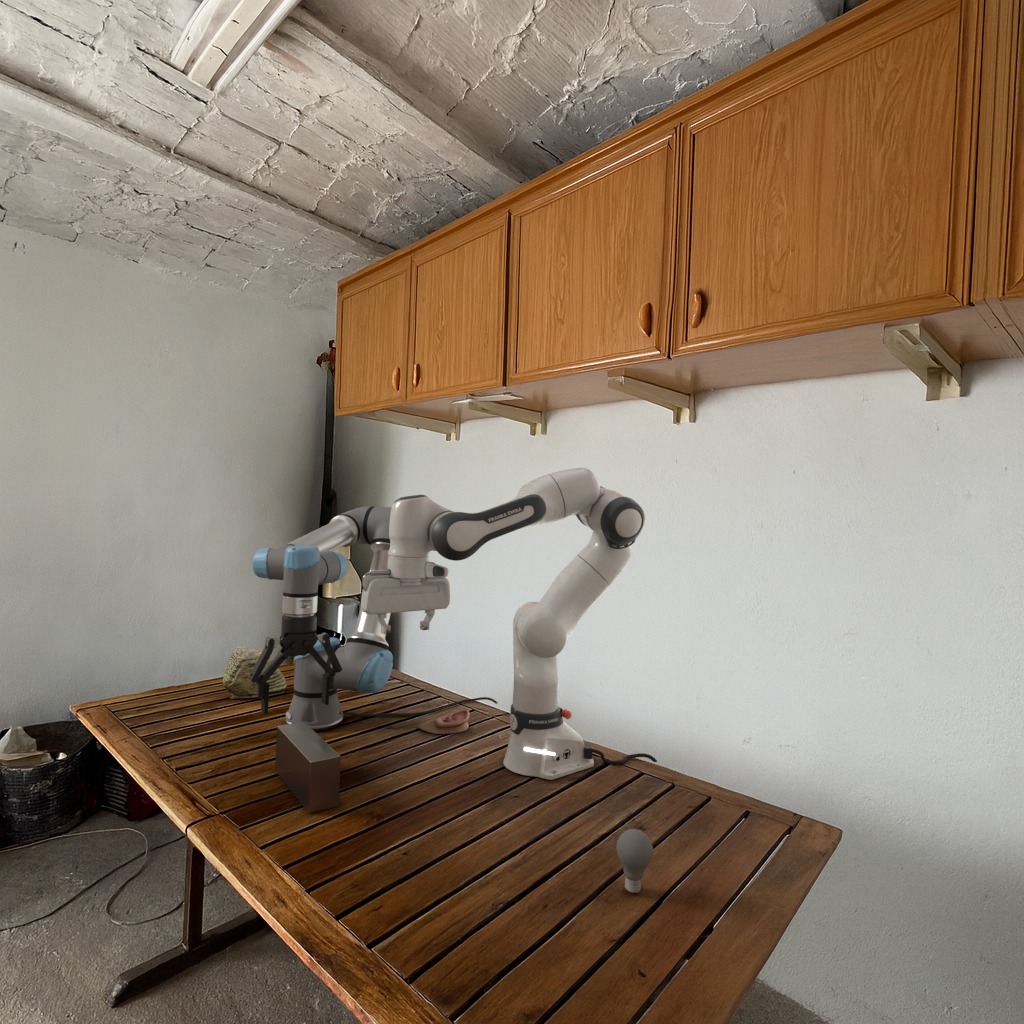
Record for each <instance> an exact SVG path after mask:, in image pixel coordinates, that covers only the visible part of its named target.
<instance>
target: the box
mask: <svg viewBox="0 0 1024 1024" xmlns="http://www.w3.org/2000/svg"><path fill="white" fill-rule="evenodd" d="M275 741H276V742H275V764H274V765H275V767H274V768H275V769H274V771H275V773H276V774H277V775H278V776H279V777H280V779H281V780H282V781H283V783H284V784H285V785H286V787H287V788H288V789H289V790H290V792H291V793H292V794H293V795H294V797H295V798H296V800H298V802H299V803H300V805H301V806H302V807H303V808H304V809H305V810H306V812H307V813H308V815H309V814H313V813H317V812H321V811H325V810H328V809H333V808H335V807H339V806H340V784H341V783H340V781H341V755H340V754H339V753H338V752H337V751H336V750H335V749H334V748H332V746H330V744H329V743H327V742H326V741H325V740H324V739H323V738H322V736H320V735H319V734H318V732H314V731H313V730H312V729H311V728H310V727H309V726H308V725H307V724H306V723H305V722H304V721H303V722H297V723H292V724H286V723H285V724H280V725H277V726H276V738H275Z"/></svg>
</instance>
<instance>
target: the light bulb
mask: <svg viewBox="0 0 1024 1024" xmlns="http://www.w3.org/2000/svg"><path fill="white" fill-rule="evenodd" d="M615 849H616V854H617V857H618V859H619V861H620V863H621V865H622V867H623V873H624V874H623V875H624V876H625V878H624V888H625V890H627V891H628V892H630V893H634V894H635V893H639V892H640V891H641V889H642V887H641V886H642V879H643V877H644V875H645V871H646V868H647V867H648V866H649V864H650V863H651V861H652V859H653V855H654V847H653V843H652V841H651V838H649V836H648V835H647V834H646V833H645V832H643V831H642V830H641V829H636V828H629V829H627V830H625V831H623V832H622V833H621V834H620V835H619V837H618V839H617V841H616V847H615Z"/></svg>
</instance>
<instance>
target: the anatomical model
mask: <svg viewBox="0 0 1024 1024" xmlns="http://www.w3.org/2000/svg"><path fill="white" fill-rule="evenodd" d="M470 715H471V714H470V711H469V710H468V709H461V710H457V711H454V712H450V713H447V714H445V715H442V716H439V717H437V718H436V717H435V718H432V719H429V720H427V721H424V722H422V723H421V724H420V725H419V726H418V728H419V730H421V731H423V732H427V733H430V734H434V735H445V734H447V735H448V734H455V733H456V734H457V733H462V732H465V731H467V730H468V729H469V726H470V724H469V722H468V721H469V720H470V717H471V716H470Z"/></svg>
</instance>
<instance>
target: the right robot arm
mask: <svg viewBox="0 0 1024 1024" xmlns="http://www.w3.org/2000/svg"><path fill="white" fill-rule="evenodd" d="M391 507H392V509H391V514H390V523H389V538H390V549H389V552H388V568H387V569H384V570H370V569H369V571H367V572H366V573H365V574H364V575H363V577H362V582H361V583H362V585H361V587H362V592H361V599H360V608H361V609H362V611H363V612H364V613H366V614H370V615H371V614H376V617H377V619H378V621H379V623H380V625H381V633H382V634H386V635H388V634H391V632H392V631H391V629H392V626H391V625H390V624H389V623H388V624H386V622H385V620H384V618H386V617H387V613H391V614H394V613H408V612H409V613H410V612H420V611H422V612H423V611H424V614H425V616H424V618H423V620H420V621H419V629H420V630H421V631H429V630H430V623H431V621H432V620H433V618H434V617H435V612H436V610H446V609H447V608H448V607H449V606H450V604H451V585H450V581H449V579H448V578H447V577H448V576H449V568H448V567H447V566H443V565H440V564H437V563H436V562H433V561H430V560H429V558H430V552H437V553H438V554H439V555H440V556H441V557H443V558H444V559H446V560H449V561H454V562H455V561H457V562H458V561H463V560H466V559H468V558H470V557H472V556H473V555H474V554H475V553H477V551H479V549H480V548H482V547H483V546H484V545H485V544H487V543H488V542H491V540H495V539H497V538H499V537H502V536H505V535H507V534H510V533H513V532H515V531H518V530H520V529H523V528H527V527H528V528H529V527H538V526H542V525H543V526H544V525H548V524H552V523H555V522H559V521H562V520H565V519H567V518H570V517H572V516H575V517H576V518H577V519H578V521H579V522H580V523H581V524H582V525H583V526H585V527H587V528H588V529H590V530H592V534H591V537H590V540H589V541H588V543H587V544H586V546H584V547H583V548H582V549H581V550H580V551H579V552H578V553H577V554H576V555H575V556H574V557H573V558H572V560H571V561H569V563H567V565H566V566H565V567H564V568H563V569H562V570H561V571H560V572H559V573H558V574H557V576H555V578H554V579H553V580H552V583H551V585H549V588H548V589H547V590H546V592H545V593H544V595H543V596H542V597H541V598H540V600H539V601H528V602H526V603H525V602H524V603H523V604H522V605H521V606H519V607H518V609H516V611H515V613H514V616H513V621H512V622H513V623H512V626H513V627H512V647H513V648H512V651H513V652H512V654H513V655H512V656H513V659H512V660H513V684H512V685H513V687H512V704H511V705H510V713H509V729H510V731H509V738H508V743H507V748H506V752H505V755H504V757H503V763H502V764H503V766H504V767H505V768H506V769H507V770H509V771H510V772H513V773H514V774H518V775H522V776H527V777H536V778H540V779H543V780H548V781H554V780H556V779H560V778H562V777H565V776H568V775H572V774H574V773H577V772H581V771H584V770H588V769H590V768H593V767H594V766H595V761H594V758H593V754H597V755H599V756H600V758H601V761H602V762H604V763H605V764H608V765H613V766H614V765H624V764H625V763H626V762H627V761H628V760H629V759H635V758H647V759H649V760H651V761H652V762H653V763H658V760H657V759H656V758H655V757H654V756H652V755H651V754H648V753H643V752H640V753H632V754H627V755H625V756H623V758H622V759H620V760H619V759H618V760H612V759H611V760H610V759H607V758H606V757H605V754H604V752H602V751H601V750H600V749H595V748H593V747H592V744H591V742H590V741H589V742H588V741H584V739H583V737H582V736H581V735H580V734H579V732H577V731H576V730H575V729H574V728H572V727H571V726H570V725H569V724H567V723H566V722H565V721H564V719H565V720H570V719H571V718H572V715H573V713H572V711H570V710H568V709H567V708H563V707H561V706H559V687H560V673H559V663H558V655H559V654H560V653H561V652H562V651H563V649H564V648H565V646H566V643H567V641H568V639H569V638H570V636H571V635H572V634H573V632H574V631H575V630H576V628H577V627H578V625H579V623H580V622H581V620H582V619H583V617H584V616H585V615H586V613H587V612H588V611H589V609H590V608H591V607H592V606H593V605H594V604H595V603H596V601H598V599H600V598H601V596H603V594H604V593H605V592H606V591H607V590H608V589H609V588H610V587H611V586H612V584H613V583H614V582H615V581H616V580H617V578H618V577H619V576H620V575H621V573H622V572H623V571H624V570H625V568H626V567H627V565H628V564H629V562H630V560H631V558H632V554H633V551H632V547H631V546H632V545H633V544H634V543H635V542H636V539H638V537H639V536H640V534H641V533H642V531H643V528H644V526H645V520H646V516H645V512H644V509H643V508H642V506H641V505H640V504H639V503H638V502H637V501H636V500H635V499H633V498H631V497H628V496H626V495H625V494H623V493H621V492H619V491H617V490H612V489H609V488H606V487H604V486H601V485H600V482H599V480H598V478H597V476H596V475H595V473H594V472H593V471H591V470H590V469H589V468H585V467H575V468H569V469H568V468H567V469H563V470H558V471H554V472H551V473H548V474H545V475H542V476H539V477H537V478H534V479H532V480H531V481H529V482H527V483H525V484H523V485H522V486H521V487H520V488H519V490H518V492H517V495H515V497H514V498H512V499H511V500H509V501H507V502H504V503H502V504H499V505H496V506H493V507H491V508H488V509H485V510H482V511H479V512H464V511H453V510H451V509H448V508H446V507H444V506H443V505H440V504H438V503H437V502H435V501H433V500H432V499H430V498H429V497H428V496H427V495H425V494H414V495H413V494H412V495H406V496H403V497H402V496H401V497H399V498H397V499H396V500H395V501H394V502H393V503H392V506H391Z"/></svg>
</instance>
